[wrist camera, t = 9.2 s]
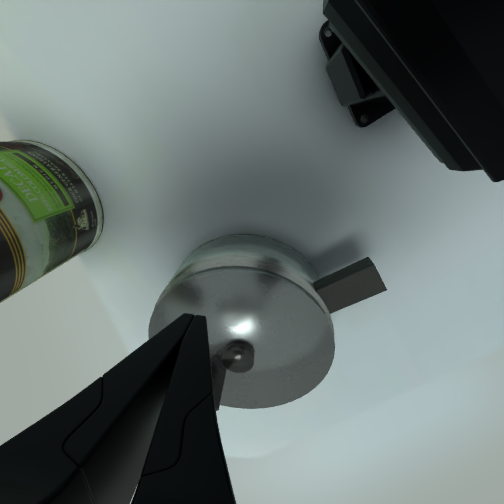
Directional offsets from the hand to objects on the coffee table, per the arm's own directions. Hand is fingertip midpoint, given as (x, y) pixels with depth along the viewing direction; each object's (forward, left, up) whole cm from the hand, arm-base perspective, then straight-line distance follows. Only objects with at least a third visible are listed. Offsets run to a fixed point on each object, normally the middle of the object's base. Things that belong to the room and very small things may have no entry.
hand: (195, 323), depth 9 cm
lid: (+7, +8, -8) cm, 13 cm away
